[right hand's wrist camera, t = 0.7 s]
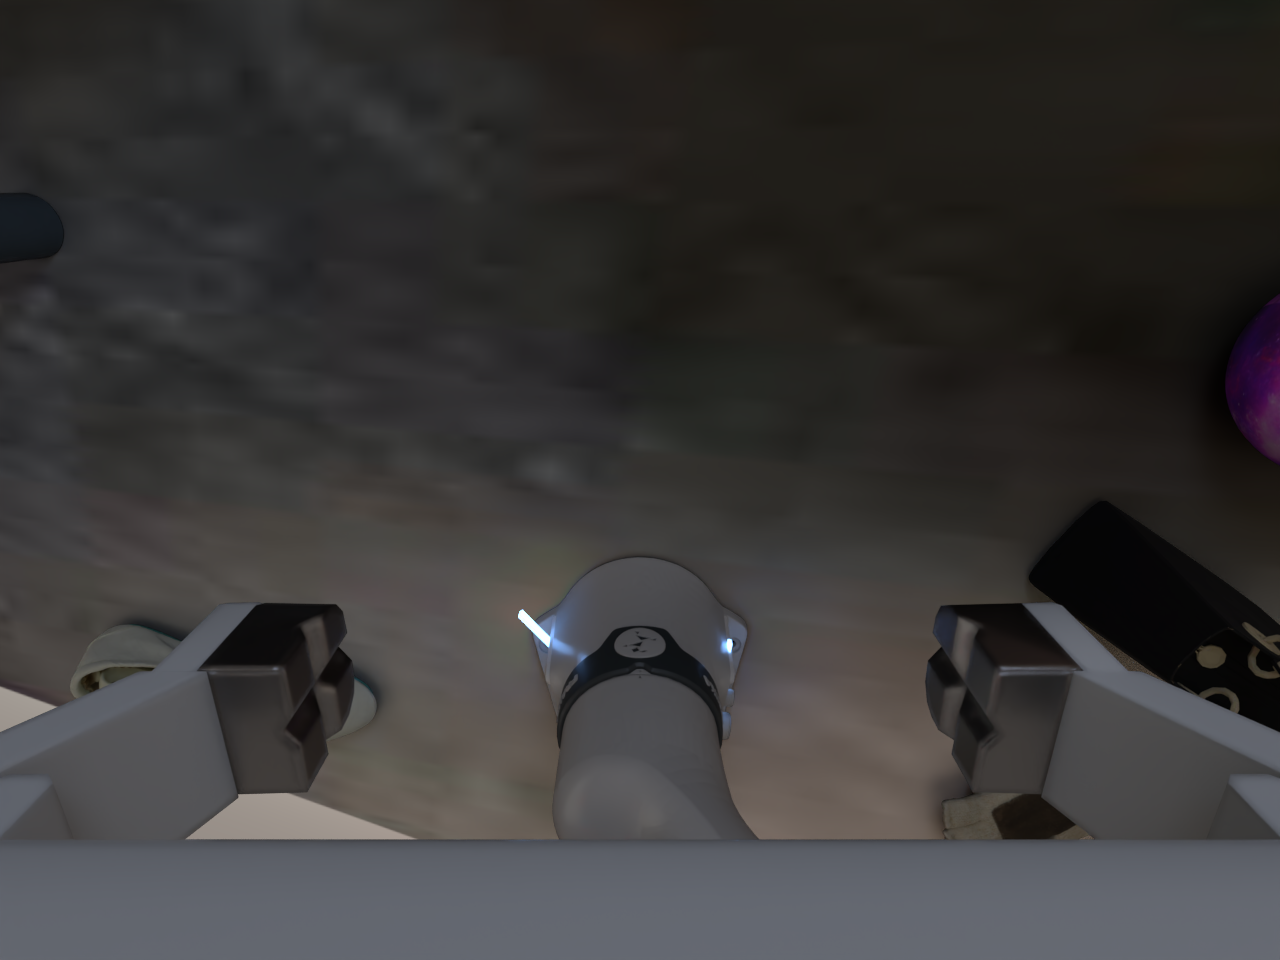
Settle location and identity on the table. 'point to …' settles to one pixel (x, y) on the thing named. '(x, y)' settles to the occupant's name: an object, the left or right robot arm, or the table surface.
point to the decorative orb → (1257, 381)
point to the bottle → (27, 228)
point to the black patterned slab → (1166, 612)
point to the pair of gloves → (1006, 818)
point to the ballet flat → (147, 647)
